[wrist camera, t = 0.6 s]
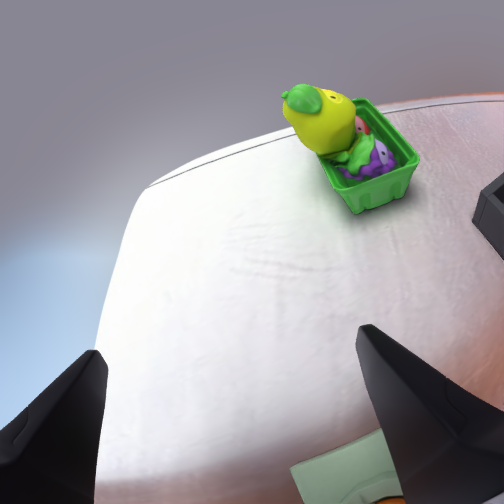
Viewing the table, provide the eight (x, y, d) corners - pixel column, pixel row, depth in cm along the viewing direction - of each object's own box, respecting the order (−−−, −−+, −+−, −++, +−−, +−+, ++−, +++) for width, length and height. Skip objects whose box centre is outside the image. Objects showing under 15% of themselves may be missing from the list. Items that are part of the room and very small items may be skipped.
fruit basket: (422, 203, 21) (421, 88, 12) (333, 236, 23) (292, 129, 15) (372, 133, 28) (349, 43, 19) (301, 158, 30) (262, 72, 21)
